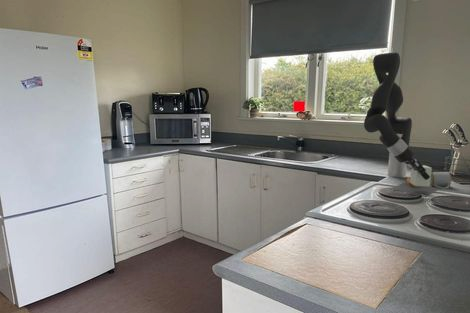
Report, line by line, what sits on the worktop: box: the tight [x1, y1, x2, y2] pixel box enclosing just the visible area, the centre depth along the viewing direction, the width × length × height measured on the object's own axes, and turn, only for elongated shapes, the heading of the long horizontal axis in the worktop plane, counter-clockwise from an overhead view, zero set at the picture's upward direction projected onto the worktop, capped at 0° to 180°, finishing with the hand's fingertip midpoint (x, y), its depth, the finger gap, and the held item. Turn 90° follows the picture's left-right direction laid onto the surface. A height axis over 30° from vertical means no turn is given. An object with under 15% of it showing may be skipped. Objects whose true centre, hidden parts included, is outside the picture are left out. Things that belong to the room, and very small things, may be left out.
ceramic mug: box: [430, 171, 452, 190], centre depth 160 cm, size 11×8×8 cm
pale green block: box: [410, 164, 433, 187], centre depth 149 cm, size 6×6×8 cm
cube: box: [405, 176, 418, 187], centre depth 160 cm, size 4×4×4 cm
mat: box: [389, 182, 441, 197], centre depth 155 cm, size 20×16×1 cm
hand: (424, 176), depth 149 cm, fingers closed on pale green block, 6 cm apart
